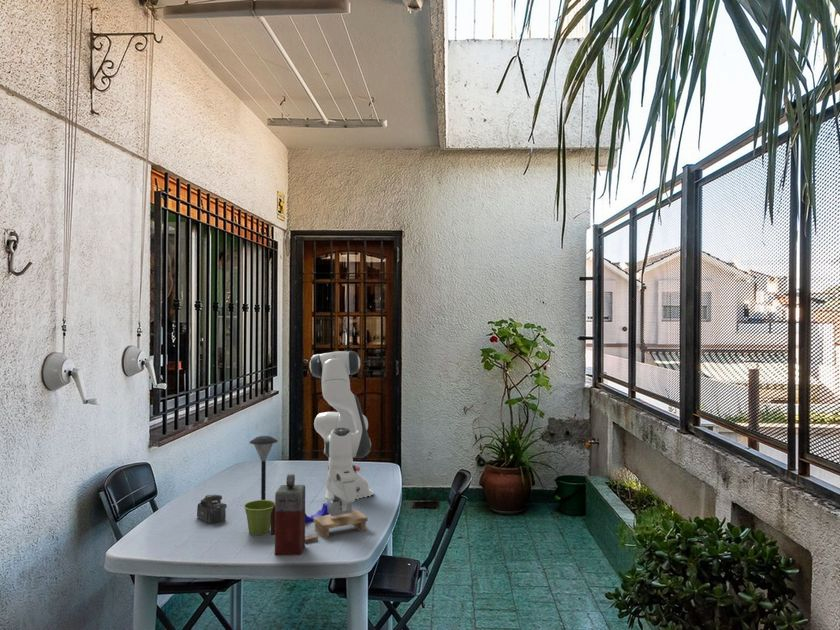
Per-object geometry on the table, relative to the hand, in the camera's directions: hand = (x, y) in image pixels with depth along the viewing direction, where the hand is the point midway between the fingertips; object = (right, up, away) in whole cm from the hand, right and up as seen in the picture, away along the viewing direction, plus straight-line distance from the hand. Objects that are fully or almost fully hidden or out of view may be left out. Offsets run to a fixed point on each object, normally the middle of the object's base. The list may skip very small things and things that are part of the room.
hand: (340, 508), depth 222 cm
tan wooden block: (-9, -10, -11) cm, 18 cm away
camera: (-54, -10, +14) cm, 56 cm away
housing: (0, -2, 0) cm, 2 cm away
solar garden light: (-37, -10, +30) cm, 49 cm away
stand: (0, -10, 0) cm, 10 cm away
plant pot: (-30, -10, -2) cm, 32 cm away
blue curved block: (-13, -10, +14) cm, 21 cm away
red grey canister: (-16, -10, -21) cm, 28 cm away
